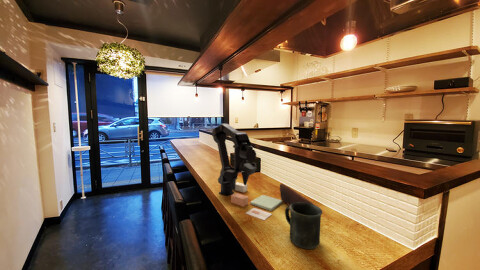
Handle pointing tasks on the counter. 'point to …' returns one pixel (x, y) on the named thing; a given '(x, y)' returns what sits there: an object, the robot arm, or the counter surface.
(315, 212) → the mug
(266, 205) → the baseplate
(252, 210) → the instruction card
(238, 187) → the cream brick
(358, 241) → the counter surface
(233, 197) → the terracotta brick
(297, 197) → the wooden tablet
